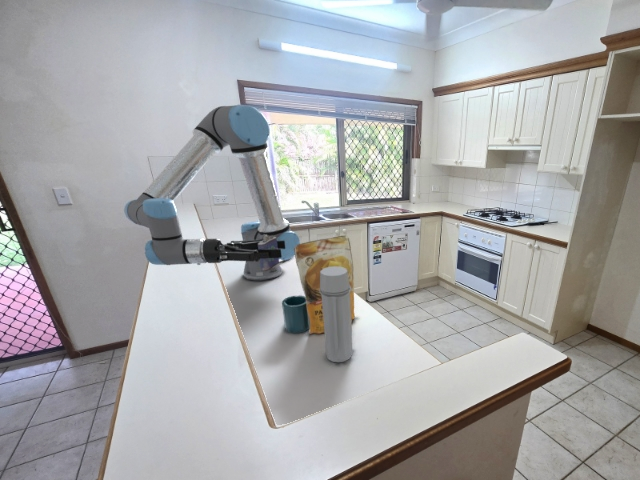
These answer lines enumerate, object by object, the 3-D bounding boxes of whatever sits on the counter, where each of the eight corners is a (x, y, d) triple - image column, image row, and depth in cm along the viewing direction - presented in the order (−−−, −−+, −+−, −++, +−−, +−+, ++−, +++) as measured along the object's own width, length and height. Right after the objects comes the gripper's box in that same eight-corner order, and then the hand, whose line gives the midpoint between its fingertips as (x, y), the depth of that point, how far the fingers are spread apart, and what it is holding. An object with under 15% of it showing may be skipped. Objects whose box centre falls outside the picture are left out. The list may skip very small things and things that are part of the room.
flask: (267, 272, 102) (262, 238, 98) (258, 271, 103) (253, 238, 99) (281, 262, 111) (277, 231, 107) (273, 262, 111) (269, 231, 107)
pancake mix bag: (298, 329, 102) (288, 242, 91) (351, 312, 113) (348, 232, 102) (308, 339, 97) (298, 248, 86) (362, 320, 108) (360, 237, 97)
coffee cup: (286, 321, 106) (283, 296, 103) (311, 319, 108) (309, 294, 104) (284, 334, 99) (280, 307, 96) (310, 331, 101) (308, 305, 97)
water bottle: (326, 348, 93) (320, 265, 83) (354, 347, 93) (351, 265, 84) (322, 369, 84) (314, 279, 74) (353, 368, 85) (349, 279, 75)
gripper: (219, 252, 112) (288, 250, 116) (196, 275, 93) (279, 271, 97) (214, 230, 109) (285, 229, 113) (190, 249, 90) (276, 247, 94)
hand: (283, 248), depth 105 cm, fingers closed on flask, 9 cm apart
